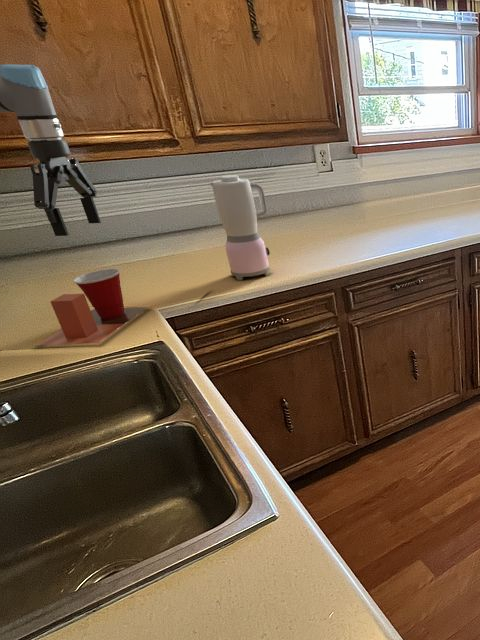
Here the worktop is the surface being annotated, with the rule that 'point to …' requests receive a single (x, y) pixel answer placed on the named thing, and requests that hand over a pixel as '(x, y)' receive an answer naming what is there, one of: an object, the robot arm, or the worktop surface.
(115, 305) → the plastic cup
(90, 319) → the terracotta block
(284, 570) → the worktop surface
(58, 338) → the sorting board
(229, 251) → the blender
